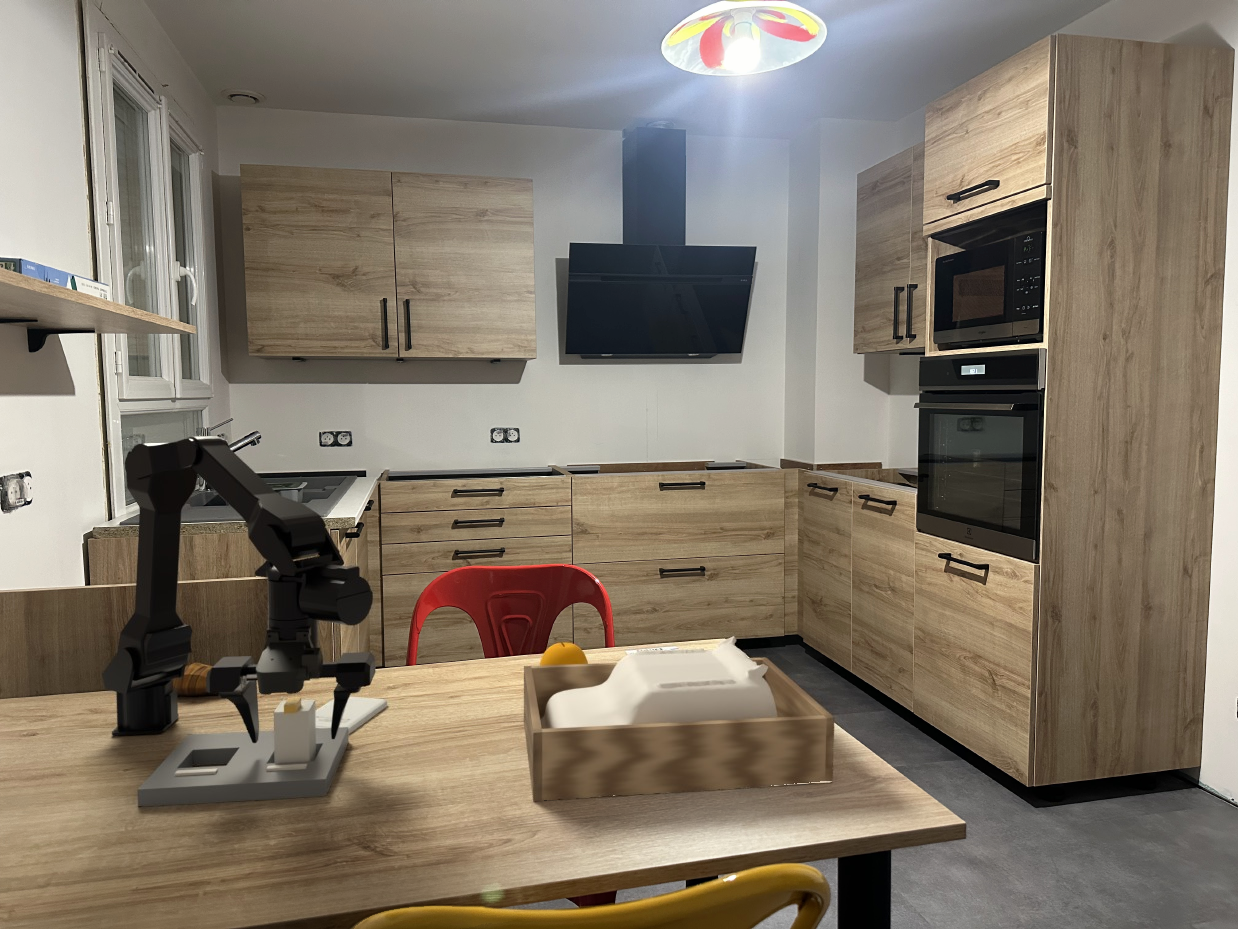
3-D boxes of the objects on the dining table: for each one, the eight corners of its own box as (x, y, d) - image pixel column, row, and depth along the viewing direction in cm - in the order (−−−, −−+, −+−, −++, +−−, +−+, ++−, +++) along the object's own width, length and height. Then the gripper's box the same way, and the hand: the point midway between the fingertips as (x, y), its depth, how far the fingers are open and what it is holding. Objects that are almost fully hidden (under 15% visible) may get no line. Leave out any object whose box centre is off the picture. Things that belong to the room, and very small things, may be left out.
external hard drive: (387, 710, 126) (344, 741, 113) (337, 705, 127) (289, 736, 115) (387, 699, 125) (344, 729, 113) (337, 695, 127) (289, 724, 115)
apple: (587, 697, 130) (587, 650, 130) (536, 696, 130) (536, 649, 130) (589, 681, 138) (590, 636, 138) (542, 680, 138) (542, 635, 138)
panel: (138, 807, 93) (137, 786, 93) (188, 749, 109) (188, 732, 108) (325, 796, 96) (325, 776, 96) (348, 741, 112) (348, 724, 112)
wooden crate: (533, 801, 95) (533, 732, 95) (523, 721, 120) (523, 666, 119) (832, 782, 101) (834, 717, 100) (764, 709, 125) (766, 657, 125)
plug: (273, 779, 100) (272, 705, 100) (282, 763, 105) (281, 693, 104) (308, 777, 101) (307, 704, 100) (315, 761, 105) (315, 691, 105)
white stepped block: (792, 777, 103) (795, 670, 102) (549, 793, 98) (550, 681, 97) (743, 720, 122) (745, 629, 121) (537, 731, 117) (537, 637, 116)
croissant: (140, 701, 127) (139, 669, 126) (162, 687, 133) (161, 656, 133) (231, 701, 127) (231, 668, 127) (249, 686, 134) (248, 656, 134)
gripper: (188, 634, 93) (191, 772, 93) (362, 629, 95) (364, 763, 96) (219, 611, 103) (222, 734, 104) (375, 607, 106) (376, 727, 107)
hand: (294, 740), depth 103 cm, fingers open, 9 cm apart
